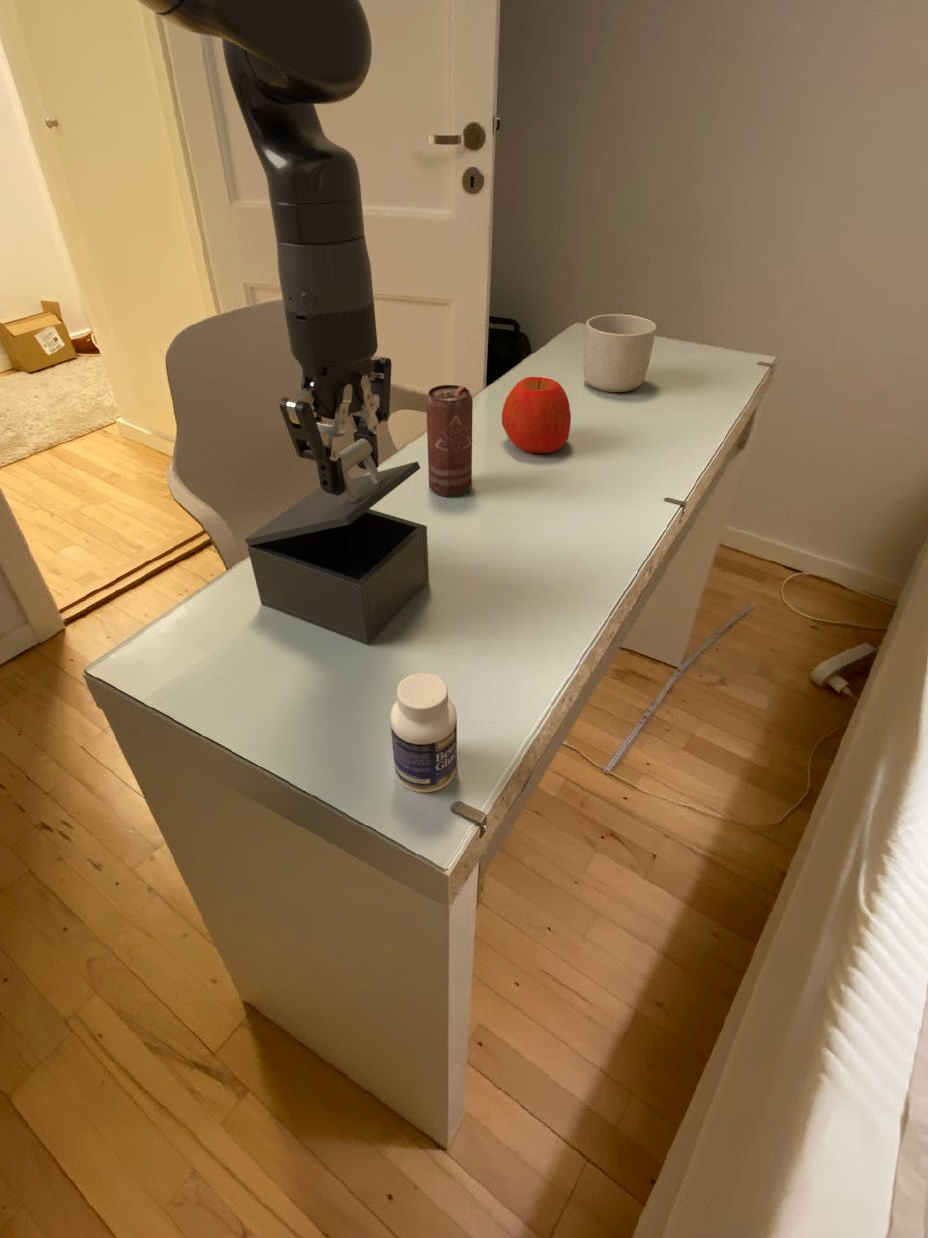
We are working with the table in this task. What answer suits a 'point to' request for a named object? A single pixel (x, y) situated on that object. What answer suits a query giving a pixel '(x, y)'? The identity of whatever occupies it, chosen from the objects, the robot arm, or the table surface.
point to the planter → (617, 351)
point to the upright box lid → (337, 498)
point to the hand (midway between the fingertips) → (351, 479)
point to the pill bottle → (424, 733)
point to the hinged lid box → (345, 574)
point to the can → (449, 440)
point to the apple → (537, 415)
